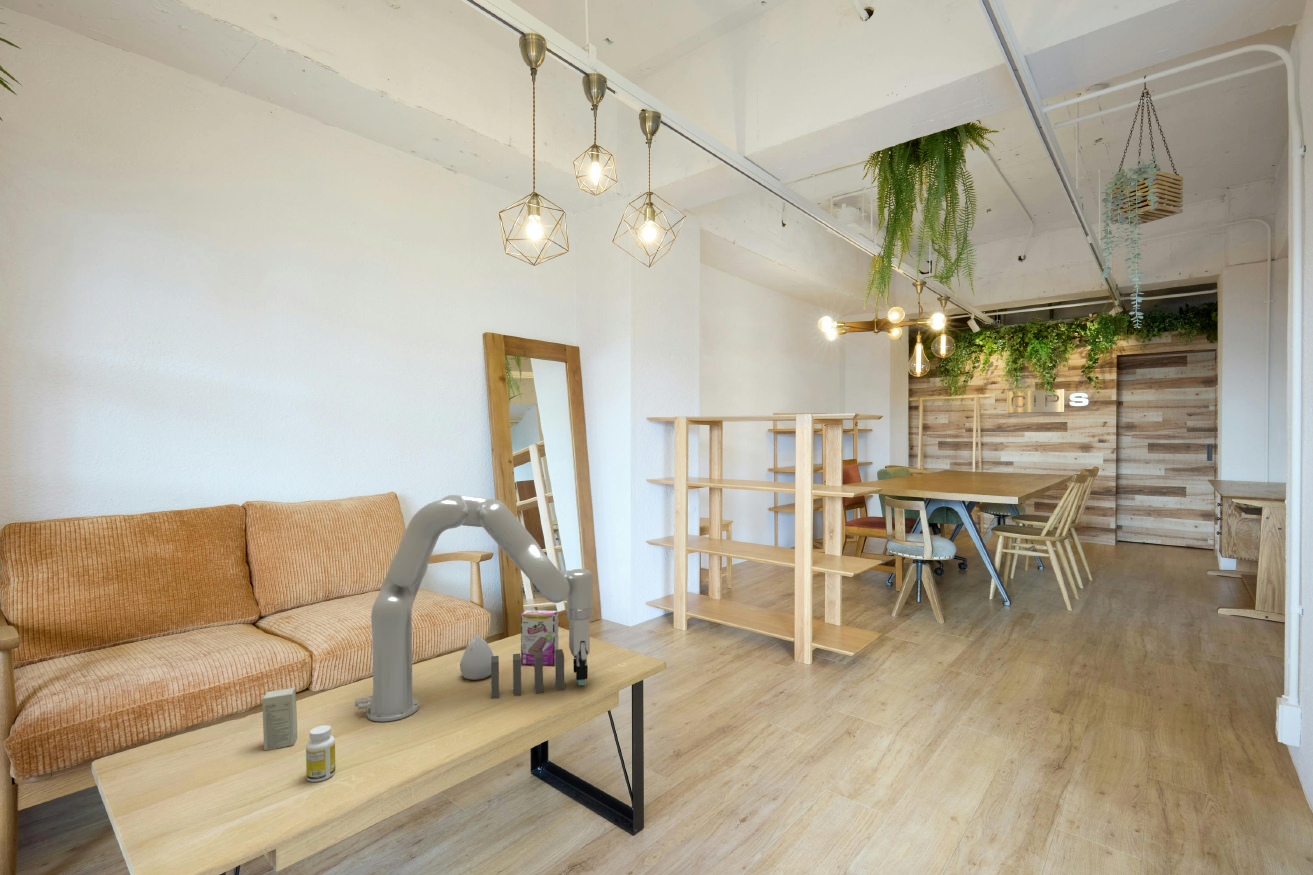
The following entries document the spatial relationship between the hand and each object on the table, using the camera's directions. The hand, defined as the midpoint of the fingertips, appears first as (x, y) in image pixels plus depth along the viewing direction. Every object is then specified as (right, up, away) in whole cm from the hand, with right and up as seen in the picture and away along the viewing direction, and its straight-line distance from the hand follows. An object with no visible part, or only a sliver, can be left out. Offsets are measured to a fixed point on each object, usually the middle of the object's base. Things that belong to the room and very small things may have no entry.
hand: (580, 674), depth 174 cm
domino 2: (-17, -3, -5) cm, 18 cm away
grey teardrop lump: (-32, -4, +8) cm, 33 cm away
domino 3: (-12, -3, -3) cm, 12 cm away
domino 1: (-23, -3, -6) cm, 24 cm away
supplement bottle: (-49, -3, -47) cm, 68 cm away
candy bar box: (-15, -3, +18) cm, 23 cm away
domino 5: (0, -2, 0) cm, 2 cm away
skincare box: (-67, -3, -33) cm, 74 cm away
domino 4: (-6, -3, -2) cm, 7 cm away
